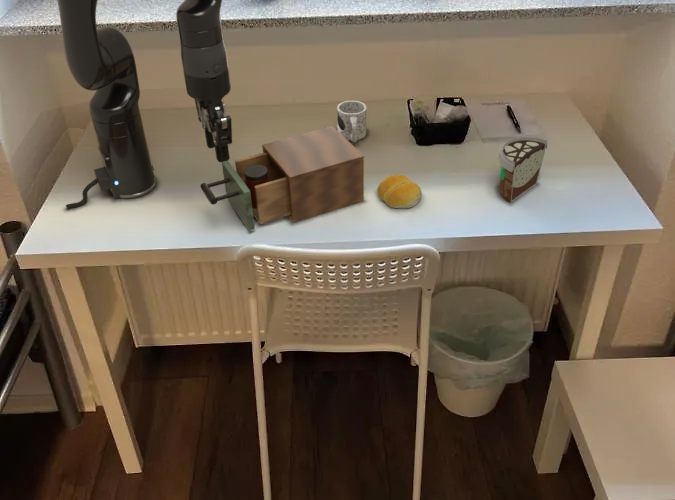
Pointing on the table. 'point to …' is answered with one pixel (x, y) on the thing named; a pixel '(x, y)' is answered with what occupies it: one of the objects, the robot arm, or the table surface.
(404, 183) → the bread roll
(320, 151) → the cabinet
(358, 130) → the mug
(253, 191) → the red canister
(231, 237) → the table surface
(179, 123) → the table surface
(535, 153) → the food container
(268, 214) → the drawer
